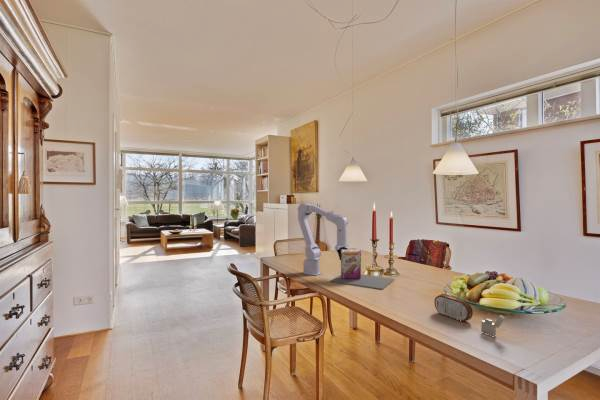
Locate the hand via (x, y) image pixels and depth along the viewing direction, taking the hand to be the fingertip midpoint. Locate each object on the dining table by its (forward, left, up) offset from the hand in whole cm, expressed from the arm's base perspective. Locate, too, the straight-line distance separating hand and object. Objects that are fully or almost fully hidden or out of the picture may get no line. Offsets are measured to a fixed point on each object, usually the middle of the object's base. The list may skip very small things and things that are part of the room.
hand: (341, 260), depth 188 cm
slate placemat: (+13, 0, -10) cm, 16 cm away
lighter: (+77, -44, -11) cm, 89 cm away
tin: (+63, -33, -11) cm, 72 cm away
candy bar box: (+6, 0, -10) cm, 11 cm away
